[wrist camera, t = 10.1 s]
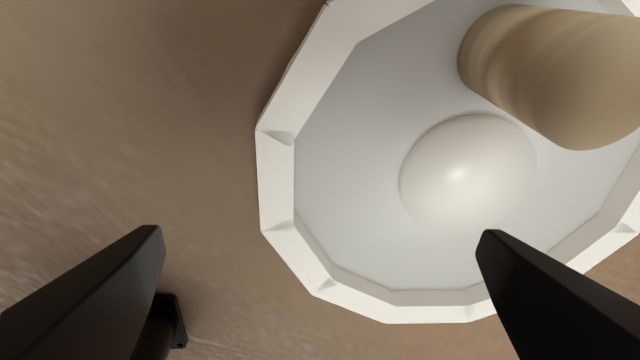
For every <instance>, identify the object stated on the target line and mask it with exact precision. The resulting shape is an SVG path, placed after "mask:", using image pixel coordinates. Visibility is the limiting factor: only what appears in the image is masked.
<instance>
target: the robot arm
mask: <svg viewBox="0 0 640 360" xmlns="http://www.w3.org/2000/svg"><path fill="white" fill-rule="evenodd" d="M165 253H166V251H165V244H164V240H163V235H162V230H161V228H160V226H158V225H142V226H140V227H138V228H136V229H135V230H133V231H132V232H130V233H128V234H127V235H125V236H124V237H122V238H120V239H119V240H117V241H116V242H114V243H112V244H111V245H109V246H108V247H106V248H104V249H103V250H101V251H99V252H98V253H96V254H95V255H93V256H91V257H90V258H88V259H87V260H85V261H83V262H82V263H80V264H79V265H77V266H75V267H74V268H72V269H71V270H69V271H67V272H66V273H64V274H63V275H61V276H59V277H58V278H56V279H54V280H53V281H51V282H50V283H48V284H46V285H45V286H43V287H42V288H40V289H38V290H37V291H35V292H34V293H32V294H30V295H29V296H27V297H25V298H24V299H22V300H21V301H19V302H17V303H16V304H14V305H13V306H11V307H9V308H8V309H6V310H5V311H3V312H2V313H1V314H0V360H166V359H167V356H168V353H169V350H170V349H182V348H185V347H186V345H187V337H186V333H185V329H184V326H183V322H182V318H181V314H180V310H179V306H178V302H177V299H176V297H175V296H173V295H154V294H155V290H156V287H157V283H158V280H159V276H160V273H161V269H162V266H163V262H164V259H165ZM475 257H476V261H477V264H478V266H479V269H480V272H481V274H482V277H483V280H484V282H485V285H486V288H487V290H488V293H489V296H490V298H491V301H492V303H493V306H494V308H495V310H496V312H497V314H498V316H499V318H500V320H501V322H502V324H503V326H504V328H505V331H506V333H507V335H508V337H509V339H510V341H511V343H512V345H513V347H514V349H515V351H516V353H517V355H518V357H519V359H520V360H640V306H639V305H638V304H636V303H634V302H632V301H630V300H628V299H627V298H625V297H623V296H621V295H619V294H617V293H616V292H614V291H612V290H610V289H608V288H606V287H605V286H603V285H601V284H599V283H597V282H596V281H594V280H592V279H590V278H588V277H586V276H585V275H583V274H581V273H579V272H577V271H575V270H574V269H572V268H570V267H568V266H566V265H565V264H563V263H561V262H559V261H557V260H555V259H554V258H552V257H550V256H548V255H546V254H544V253H543V252H541V251H539V250H537V249H535V248H534V247H532V246H530V245H528V244H526V243H524V242H523V241H521V240H519V239H517V238H515V237H513V236H512V235H510V234H508V233H506V232H504V231H503V230H500V229H486V230H484V231H483V233H482V235H481V237H480V240H479V243H478V245H477V248H476V251H475Z"/></svg>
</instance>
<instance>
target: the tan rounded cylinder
mask: <svg viewBox="0 0 640 360" xmlns="http://www.w3.org/2000/svg"><path fill="white" fill-rule="evenodd" d="M457 69H458V73H459V76H460V78H461V80H462V82H463V83H464V84H465V85H466V86H467V87H468V88H469V89H470V90H472V91H474V92H475V93H477V94H478V95H480V96H481V97H483V98H484V99H486V100H488V101H489V102H491V103H492V104H494V105H495V106H497V107H498V108H500V109H502V110H503V111H505V112H506V113H508V114H509V115H511V116H512V117H514V118H516V119H517V120H519V121H520V122H522V123H523V124H525V125H526V126H528V127H530V128H531V129H533V130H534V131H536V132H537V133H539V134H540V135H542V136H544V137H545V138H547V139H548V140H550V141H551V142H553V143H554V144H556V145H558V146H560V147H562V148H564V149H568V150H575V151H586V150H593V149H597V148H601V147H604V146H607V145H610V144H612V143H614V142H617V141H619V140H621V139H622V138H624V137H626V136H628V135H629V134H631V133H632V132H634V131H635V130H636V129H638V128H639V127H640V17H634V16H625V15H616V14H606V13H597V12H588V11H579V10H569V9H560V8H551V7H542V6H533V5H523V4H505V5H501V6H497V7H495V8H493V9H491V10H489V11H487V12H486V13H484V14H483V15H482V16H480V17H479V18H478V19H477V20H476V21H475V22H474V23H473V24H472V25H471V26H470V28H469V29H468V30H467V32H466V33H465V35H464V37H463V39H462V41H461V44H460V47H459V50H458V55H457Z"/></svg>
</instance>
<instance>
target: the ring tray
mask: <svg viewBox="0 0 640 360" xmlns="http://www.w3.org/2000/svg"><path fill="white" fill-rule="evenodd" d="M326 4H327V5H326ZM326 4H324V5H323V6H322V8H321V10H320V12H319V13H318V15H317V17H316V19H315V20H314V22H313V24H312V26H311V27H310V29H309V31H308V33H307V34H306V36H305V38H304V39H303V41H302V43H301V44H300V46H299V47H298V49H297V50H296V52H295V53H294V55H293V56H292V58H291V59H290V61H289V63H288V65H287V67H286V69H285V71H284V73H283V75H282V77H281V79H280V81H279V83H278V85H277V87H276V88H275V90H274V92H273V94H272V95H271V97H270V99H269V101H268V102H267V104H266V106H265V108H264V109H263V111H262V113H261V115H260V116H259V118H258V121H257V125H256V128H255V142H256V159H257V177H258V195H259V213H260V230H261V233H262V234H263V235H264V236H265V237H266V239H267V240H268V241H269V242H270V244H271V245H272V246H273V247H274V249H275V250H276V251H277V252H278V254H279V255H280V256H281V257H282V259H283V260H284V261H285V262H286V264H287V265H288V266H289V267H290V269H291V270H292V271H293V272H294V274H295V275H296V276H297V277H298V279H299V280H300V281H301V282H302V284H303V285H304V286H305V287H306V288H307V290H308V291H309V292H310V293H311V295H313V296H316V297H318V298H321V299H323V300H326V301H328V302H331V303H333V304H336V305H339V306H341V307H344V308H346V309H349V310H351V311H354V312H356V313H359V314H362V315H364V316H367V317H369V318H372V319H374V320H377V321H379V322H382V323H386V324H399V323H468V321H469V322H472V321H475V320H478V319H481V318H484V317H487V316H489V315H492V314H495V313H497V312H496V310H495V308H494V306H493V303H492V301H491V298H490V296H489V293H488V290H487V288H486V285H485V282H484V280H483V277H482V274H481V272H480V269H479V266H478V264H477V261H476V257H475V251H476V248H477V245H478V243H479V240H480V237H481V235H482V233H483V231H484V230H486V229H500V230H503V231H504V232H506V233H508V234H510V235H512V236H513V237H515V238H517V239H519V240H521V241H523V242H524V243H526V244H528V245H530V246H532V247H534V248H535V249H537V250H539V251H541V252H543V253H544V254H546V255H548V256H550V257H552V258H554V259H555V260H557V261H559V262H561V263H563V264H565V265H566V266H568V267H570V268H572V269H574V270H575V271H577V272H579V273H581V274H584V273H585V272H586V271H588V270H589V269H591V268H592V267H593V266H595V265H596V264H598V263H599V262H600V261H602V260H603V259H605V258H606V257H607V256H609V255H610V254H612V253H613V252H614V251H616V250H617V249H619V248H620V247H621V246H623V245H624V244H626V243H627V242H629V241H630V240H631V239H633V238H634V237H636V236H637V235H638V234H639V233H640V127H639V128H638V129H636V130H635V131H634V132H632V133H631V134H629V135H628V136H626V137H624V138H622V139H621V140H619V141H617V142H614V143H612V144H610V145H607V146H604V147H601V148H597V149H593V150H586V151H575V150H568V149H564V148H562V147H560V146H558V145H556V144H554V143H553V142H551V141H550V140H548V139H547V138H545V137H544V136H542V135H540V134H539V133H537V132H536V131H534V130H533V129H531V128H530V127H528V126H526V125H525V124H523V123H522V122H520V121H519V120H517V119H516V118H514V117H512V116H511V115H509V114H508V113H506V112H505V111H503V110H502V109H500V108H498V107H497V106H495V105H494V104H492V103H491V102H489V101H488V100H486V99H484V98H483V97H481V96H480V95H478V94H477V93H475V92H474V91H472V90H470V89H469V88H468V87H467V86H466V85H465V84H464V83H463V82H462V80H461V78H460V76H459V73H458V69H457V55H458V50H459V47H460V44H461V41H462V39H463V37H464V35H465V33H466V32H467V30H468V29H469V28H470V26H471V25H472V24H473V23H474V22H475V21H476V20H477V19H478V18H479V17H480V16H482V15H483V14H484V13H486V12H487V11H489V10H491V9H493V8H495V7H497V6H501V5H505V4H523V5H533V6H542V7H551V8H560V9H569V10H579V11H588V12H597V13H606V14H616V15H625V16H634V17H640V0H328V1H326Z"/></svg>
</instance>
